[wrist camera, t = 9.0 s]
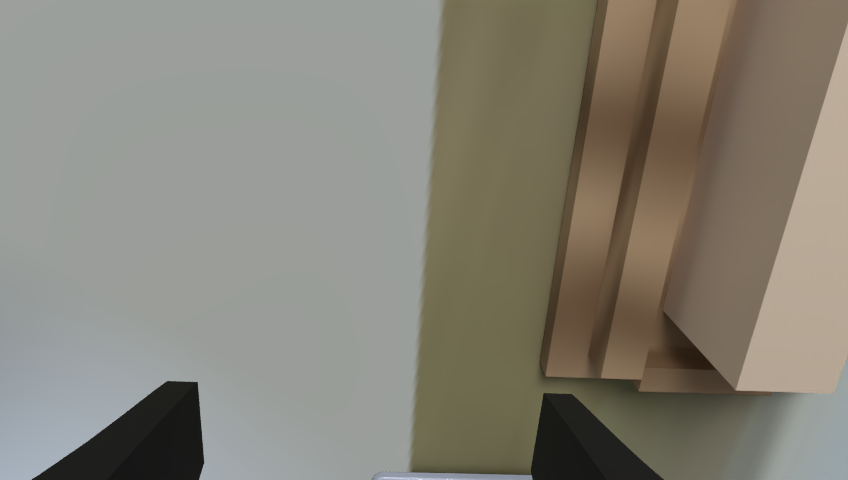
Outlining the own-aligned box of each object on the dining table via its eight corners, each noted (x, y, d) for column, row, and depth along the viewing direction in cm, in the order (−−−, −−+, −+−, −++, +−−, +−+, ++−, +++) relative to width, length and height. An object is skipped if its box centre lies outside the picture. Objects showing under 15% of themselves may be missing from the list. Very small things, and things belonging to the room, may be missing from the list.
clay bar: (740, 313, 22) (833, 393, 17) (662, 310, 22) (735, 390, 17) (843, -39, 18) (1003, -60, 13) (748, -48, 17) (876, -71, 13)
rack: (800, 371, 24) (843, 409, 22) (539, 362, 23) (555, 400, 21) (976, -132, 18) (1063, -155, 16) (624, -166, 17) (661, -195, 15)
